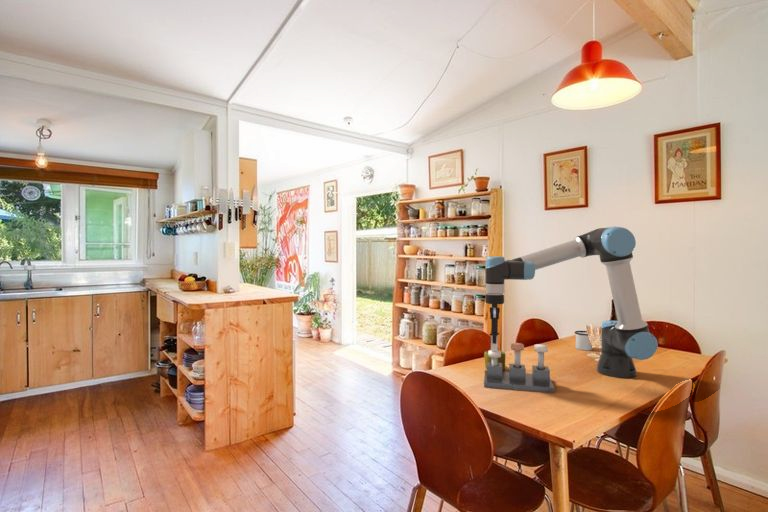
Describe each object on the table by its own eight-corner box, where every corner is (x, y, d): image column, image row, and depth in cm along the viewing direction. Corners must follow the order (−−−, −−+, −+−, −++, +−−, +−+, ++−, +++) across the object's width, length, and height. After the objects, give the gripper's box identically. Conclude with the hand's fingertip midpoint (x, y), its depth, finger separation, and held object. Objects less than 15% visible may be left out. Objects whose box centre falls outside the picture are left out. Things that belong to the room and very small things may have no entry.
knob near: (546, 369, 165) (546, 344, 164) (548, 372, 160) (548, 347, 159) (533, 368, 166) (533, 343, 166) (534, 371, 161) (534, 346, 161)
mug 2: (588, 352, 214) (588, 335, 214) (570, 348, 222) (571, 332, 222) (599, 348, 221) (599, 332, 221) (582, 345, 229) (582, 329, 229)
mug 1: (510, 369, 177) (503, 347, 180) (487, 375, 179) (480, 353, 182) (509, 367, 189) (502, 346, 191) (488, 372, 191) (481, 351, 193)
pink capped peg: (523, 367, 167) (523, 343, 167) (524, 371, 162) (524, 346, 162) (510, 366, 168) (510, 342, 168) (511, 370, 163) (511, 345, 163)
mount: (548, 379, 170) (548, 363, 169) (554, 393, 154) (554, 374, 154) (484, 374, 176) (485, 358, 176) (484, 387, 161) (484, 369, 161)
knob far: (500, 374, 169) (500, 350, 169) (500, 377, 164) (500, 353, 164) (488, 373, 171) (488, 349, 170) (488, 376, 166) (488, 352, 166)
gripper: (485, 291, 174) (485, 346, 175) (485, 295, 162) (484, 354, 162) (503, 292, 172) (503, 347, 173) (504, 296, 160) (504, 355, 160)
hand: (494, 350), depth 167 cm, fingers closed
